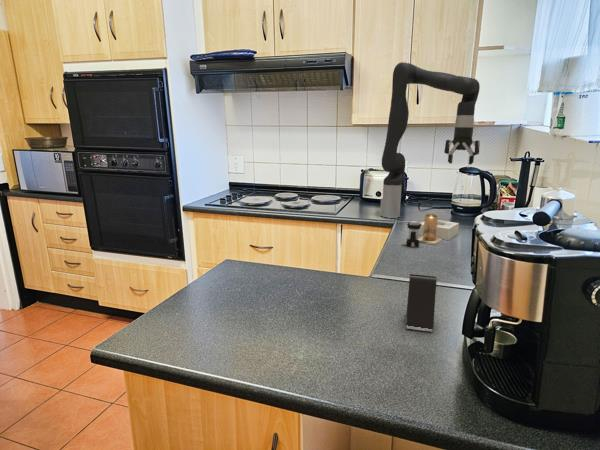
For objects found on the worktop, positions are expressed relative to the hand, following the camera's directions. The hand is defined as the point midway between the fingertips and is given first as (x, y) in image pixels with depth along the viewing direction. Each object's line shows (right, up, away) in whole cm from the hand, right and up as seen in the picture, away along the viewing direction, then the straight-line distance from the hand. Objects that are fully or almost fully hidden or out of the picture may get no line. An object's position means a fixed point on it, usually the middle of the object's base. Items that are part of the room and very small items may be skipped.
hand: (460, 163), depth 173 cm
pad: (-18, -34, -12) cm, 40 cm away
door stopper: (-43, -51, -79) cm, 104 cm away
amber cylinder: (-18, -33, -12) cm, 40 cm away
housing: (-11, -31, -2) cm, 33 cm away
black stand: (-27, -36, -19) cm, 49 cm away
